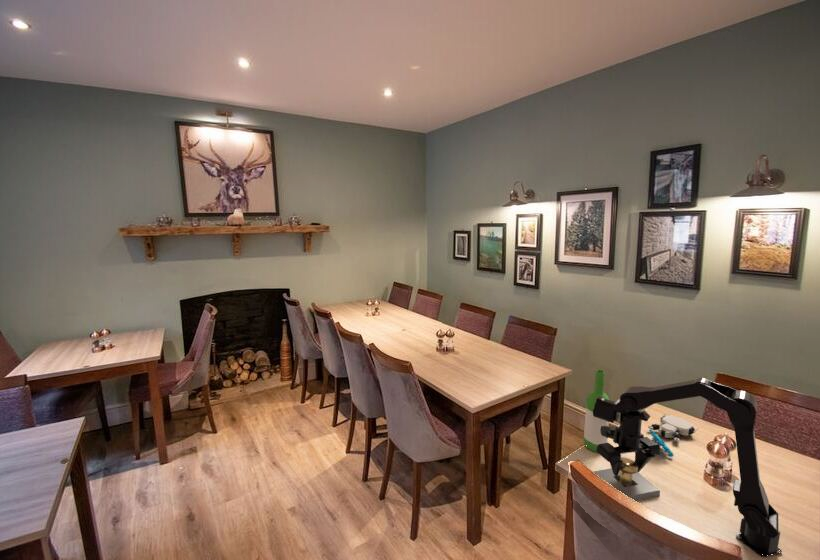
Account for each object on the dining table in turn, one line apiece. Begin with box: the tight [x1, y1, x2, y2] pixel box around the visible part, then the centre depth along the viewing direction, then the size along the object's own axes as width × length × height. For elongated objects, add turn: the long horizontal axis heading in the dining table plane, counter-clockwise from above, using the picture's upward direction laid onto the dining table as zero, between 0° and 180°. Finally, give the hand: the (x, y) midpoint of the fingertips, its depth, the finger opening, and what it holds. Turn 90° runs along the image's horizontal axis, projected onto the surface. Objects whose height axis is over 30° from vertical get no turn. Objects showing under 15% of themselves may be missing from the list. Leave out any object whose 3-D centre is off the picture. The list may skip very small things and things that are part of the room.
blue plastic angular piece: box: [648, 429, 674, 457], centre depth 135 cm, size 11×6×10 cm
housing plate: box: [592, 467, 661, 502], centre depth 117 cm, size 12×14×2 cm
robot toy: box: [647, 412, 700, 442], centre depth 146 cm, size 12×4×15 cm
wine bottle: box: [583, 369, 610, 453], centre depth 135 cm, size 8×8×30 cm
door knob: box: [618, 456, 639, 487], centre depth 116 cm, size 6×6×8 cm
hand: (626, 473), depth 116 cm, fingers open, 8 cm apart
